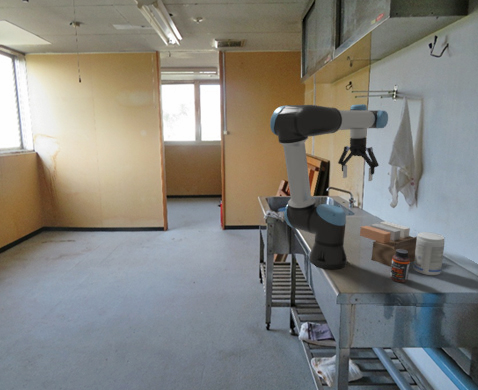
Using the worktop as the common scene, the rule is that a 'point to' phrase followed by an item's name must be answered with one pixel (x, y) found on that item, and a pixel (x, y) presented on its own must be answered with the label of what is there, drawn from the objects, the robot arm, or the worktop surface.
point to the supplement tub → (429, 253)
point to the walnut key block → (393, 249)
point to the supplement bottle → (400, 266)
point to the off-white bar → (398, 228)
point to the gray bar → (394, 232)
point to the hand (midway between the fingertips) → (357, 179)
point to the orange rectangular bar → (375, 234)
